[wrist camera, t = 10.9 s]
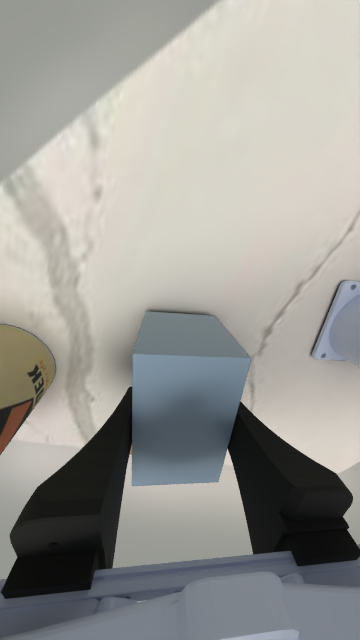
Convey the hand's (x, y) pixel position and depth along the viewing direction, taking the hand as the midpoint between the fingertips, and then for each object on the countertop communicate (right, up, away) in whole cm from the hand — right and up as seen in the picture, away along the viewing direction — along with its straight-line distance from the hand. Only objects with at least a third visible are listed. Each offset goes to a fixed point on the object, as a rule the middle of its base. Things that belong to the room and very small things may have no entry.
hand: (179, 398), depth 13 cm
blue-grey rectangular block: (0, +2, +4) cm, 4 cm away
